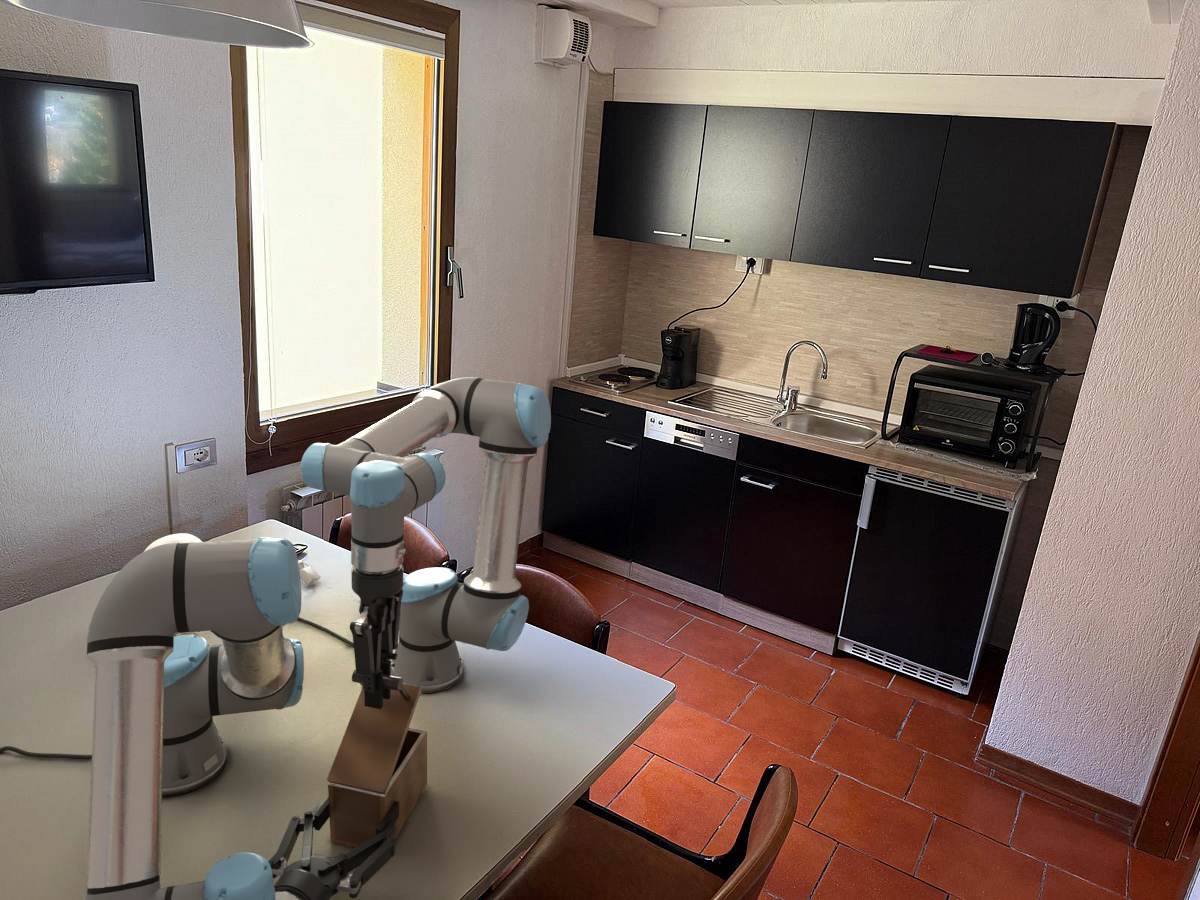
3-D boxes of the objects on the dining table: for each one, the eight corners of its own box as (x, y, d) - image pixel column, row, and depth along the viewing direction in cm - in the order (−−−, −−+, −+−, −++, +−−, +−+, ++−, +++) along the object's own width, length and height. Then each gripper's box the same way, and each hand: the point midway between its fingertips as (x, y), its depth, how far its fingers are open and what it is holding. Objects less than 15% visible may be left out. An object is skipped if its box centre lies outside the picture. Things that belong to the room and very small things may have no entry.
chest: (377, 773, 150) (376, 720, 147) (427, 784, 149) (427, 731, 145) (330, 842, 135) (327, 784, 131) (385, 855, 133) (384, 797, 130)
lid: (369, 678, 141) (353, 657, 134) (422, 689, 140) (409, 668, 133) (328, 782, 132) (309, 765, 125) (385, 795, 130) (369, 778, 123)
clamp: (253, 565, 223) (254, 542, 221) (265, 560, 226) (266, 537, 224) (309, 593, 215) (310, 569, 213) (320, 588, 218) (321, 564, 216)
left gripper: (217, 914, 118) (304, 806, 139) (365, 953, 114) (432, 836, 135) (213, 870, 115) (303, 767, 136) (365, 908, 111) (433, 796, 132)
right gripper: (378, 590, 119) (377, 734, 126) (421, 549, 133) (419, 680, 140) (328, 581, 121) (331, 724, 128) (377, 541, 135) (377, 672, 142)
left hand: (367, 801), depth 135 cm, fingers closed on chest, 9 cm apart
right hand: (377, 701), depth 134 cm, fingers closed on lid, 2 cm apart
